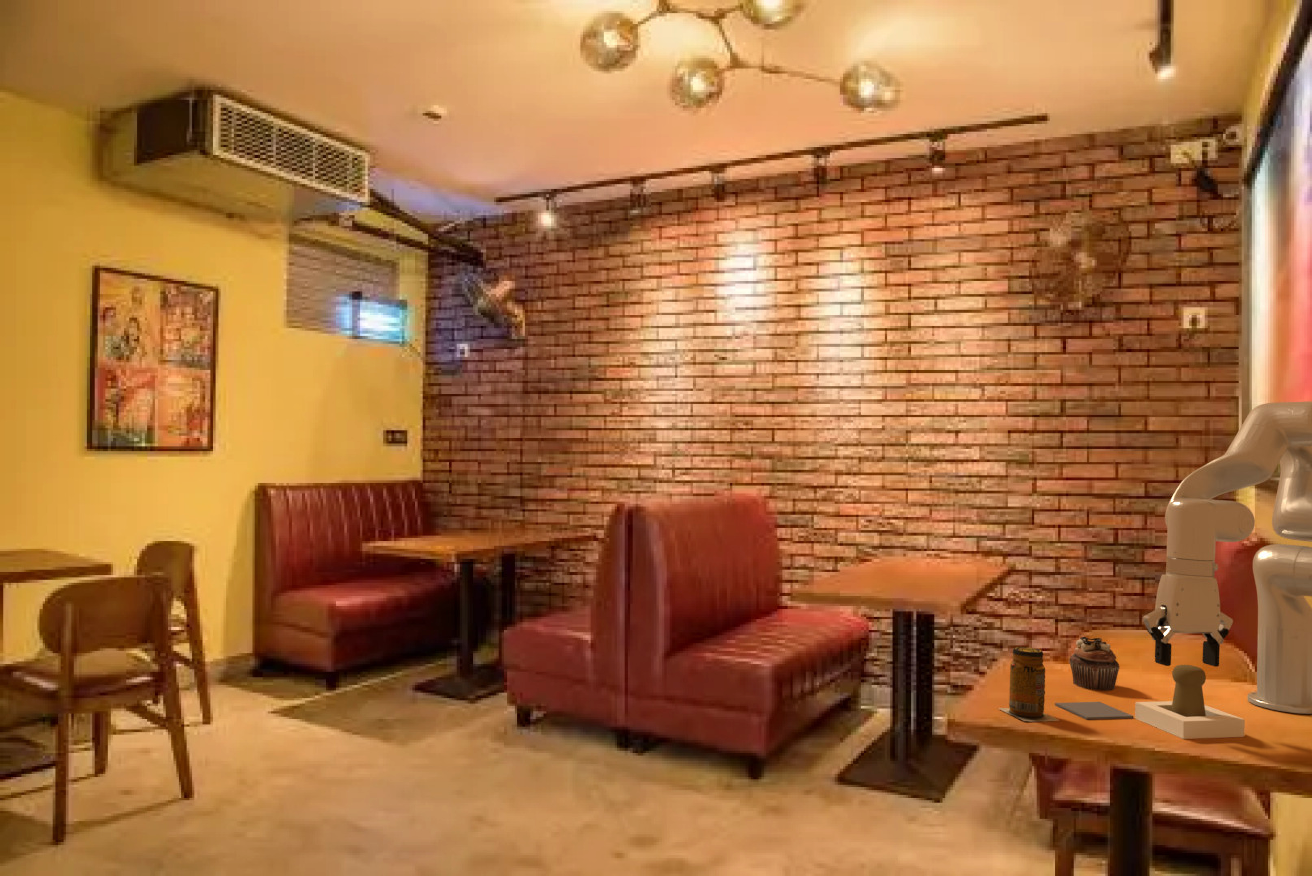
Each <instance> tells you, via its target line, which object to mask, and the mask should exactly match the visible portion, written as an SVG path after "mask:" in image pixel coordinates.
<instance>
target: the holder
mask: <svg viewBox="0 0 1312 876" xmlns="http://www.w3.org/2000/svg"><path fill="white" fill-rule="evenodd" d="M1172 702H1173V700H1169V701H1168V700H1167V701H1165V700H1164V701H1136V702H1135V703H1134V704H1135V706H1134V718H1135V719H1136V720H1138V721H1140V722H1143V723H1145V724H1148V725H1149V726H1152V727H1154V728H1156V727H1157V729H1159V730H1162V731H1163V732H1167V733H1168V734H1171V735H1173V736H1175V737H1177V738H1180V739H1182V740H1183V739H1184V740H1188V739H1191V740H1192V739H1193V740H1194V739H1216V738H1217V739H1219V738H1221V739H1222V738H1242V737H1245V718H1242V717H1239V716H1237V715H1233V714H1230V713H1228V712H1225V711H1222V710H1220V709H1218V708H1214V707H1211V706H1210V705H1209V706H1208V705H1206V704H1204V706H1205V713H1206V716H1199V717H1185V716H1182V715H1179V714H1177V713H1174V712H1172V711H1171V708H1172Z"/></svg>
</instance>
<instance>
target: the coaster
mask: <svg viewBox="0 0 1312 876" xmlns="http://www.w3.org/2000/svg"><path fill="white" fill-rule="evenodd" d="M1054 706H1056V707H1058V708H1060V709H1062V710H1065V711H1066V712H1069V713H1071V714H1074V715H1076V716H1078V717H1080V718H1082V719H1084V720H1088V721H1089V720H1117V719H1134V715H1132V714H1129V713H1127V712H1126V711H1122V710H1119V709H1118V708H1115V707H1113V706H1111V705H1108V704H1105V703H1103V702H1102V701H1084V702H1083V701H1082V702H1081V701H1079V702H1078V701H1077V702H1054Z"/></svg>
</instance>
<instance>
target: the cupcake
mask: <svg viewBox="0 0 1312 876" xmlns="http://www.w3.org/2000/svg"><path fill="white" fill-rule="evenodd" d="M1075 644H1076V647H1075V648H1074V650H1073V653H1072V654H1071V655H1070V657H1069V659H1068V662H1069V665H1070V670H1071V675H1072V683H1073V684H1074V685H1075V686H1076V685H1077V686H1076V687H1080V688H1082V689H1087V690H1091V689H1092V690H1093V691H1105V692H1106V691H1107V692H1108V691H1114V689H1115V686H1116V684H1117V683H1116V682H1117V680H1118V675H1119V670H1120V664H1119V662H1118V661H1117V656H1116V654H1115V653H1114V651H1113V650H1112V649H1111V645H1110V644H1109V643H1107V642H1106V641H1103V640H1102V637H1101V638H1100V637H1094V638H1088V637H1087V636H1081V637H1080V638H1079V639H1078V640H1076V641H1075ZM1092 690H1091V691H1092Z"/></svg>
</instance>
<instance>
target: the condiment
mask: <svg viewBox="0 0 1312 876" xmlns="http://www.w3.org/2000/svg"><path fill="white" fill-rule="evenodd" d="M1011 656H1012V661H1011V663H1010V666H1009V667H1010V669H1009V699H1008V700H1009V701H1008V707H1009V708H1008V707H999V708H998V709H999V710H1000V711H1002V712H1005V713H1006V714H1008V715H1011V716H1012V717H1015V718H1016V719H1019V720H1022V721H1023V722H1037V723H1038V722H1039V723H1040V722H1045V723H1046V722H1057V721H1058V722H1059V721H1061V720H1060V719H1058V718H1056V717H1054V716H1052V715H1050V714H1047V713H1046V712H1045V701H1046V700H1045V699H1046V698H1045V695H1046V667H1045V664H1044V652H1043V651H1042V650H1041V649H1039V648H1034V647H1026V646H1017V647H1014V648H1013V649H1012V655H1011ZM1044 712H1045V713H1044Z"/></svg>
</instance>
